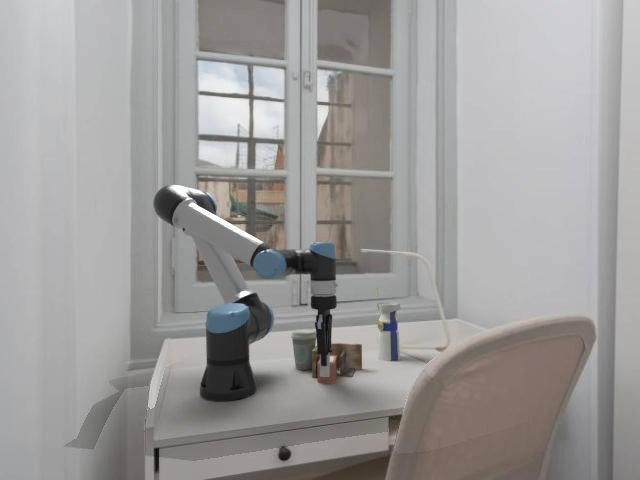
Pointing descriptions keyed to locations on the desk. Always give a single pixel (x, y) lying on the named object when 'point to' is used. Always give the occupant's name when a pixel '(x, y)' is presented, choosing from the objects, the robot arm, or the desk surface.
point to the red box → (332, 370)
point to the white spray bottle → (388, 331)
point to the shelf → (342, 358)
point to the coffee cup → (303, 347)
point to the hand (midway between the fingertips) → (325, 376)
